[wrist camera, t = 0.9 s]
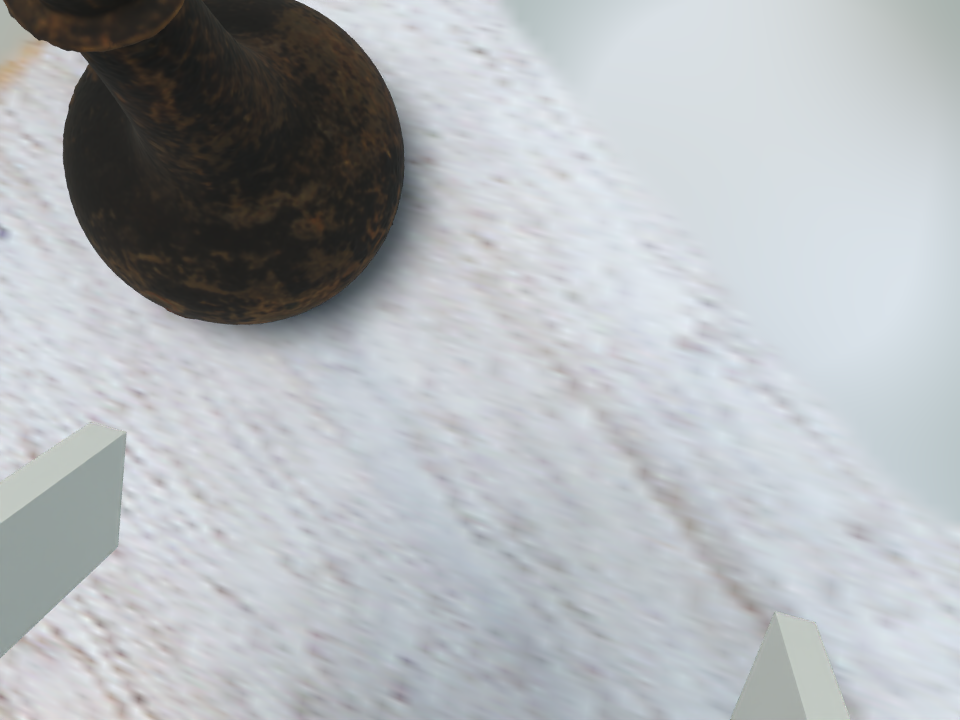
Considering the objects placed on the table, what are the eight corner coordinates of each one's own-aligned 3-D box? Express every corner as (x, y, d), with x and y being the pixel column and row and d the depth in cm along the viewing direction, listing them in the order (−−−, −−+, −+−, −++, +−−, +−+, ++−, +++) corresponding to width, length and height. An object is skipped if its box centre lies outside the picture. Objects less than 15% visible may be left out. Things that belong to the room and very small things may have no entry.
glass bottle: (324, 11, 53) (200, -470, 25) (461, 252, 52) (486, 25, 24) (67, 138, 51) (-368, -228, 24) (202, 391, 50) (-91, 318, 22)
